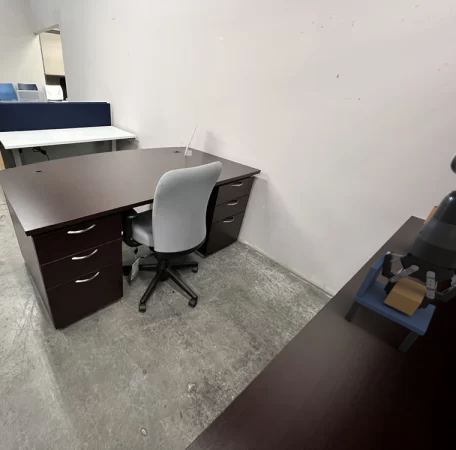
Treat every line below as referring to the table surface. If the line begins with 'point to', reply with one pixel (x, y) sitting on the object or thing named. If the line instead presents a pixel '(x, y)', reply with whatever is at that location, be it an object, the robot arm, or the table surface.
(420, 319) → the chair
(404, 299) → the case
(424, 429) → the table surface
